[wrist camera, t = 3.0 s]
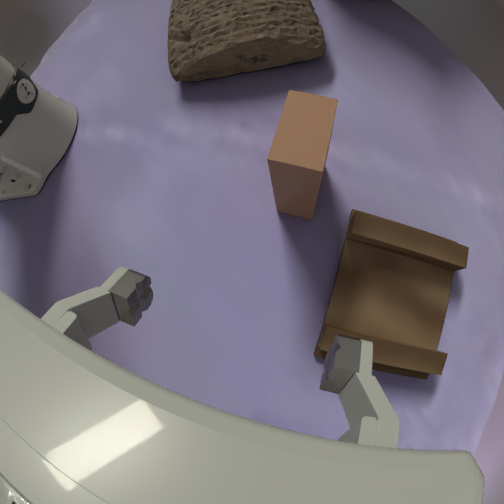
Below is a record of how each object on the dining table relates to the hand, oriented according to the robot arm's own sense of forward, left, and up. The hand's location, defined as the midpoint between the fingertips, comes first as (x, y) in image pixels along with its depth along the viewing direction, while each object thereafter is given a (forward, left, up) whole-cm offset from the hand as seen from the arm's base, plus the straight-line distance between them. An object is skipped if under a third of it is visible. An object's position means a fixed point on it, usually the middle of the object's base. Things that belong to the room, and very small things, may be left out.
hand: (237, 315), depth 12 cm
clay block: (+5, +11, -16) cm, 20 cm away
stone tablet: (+2, +42, -16) cm, 45 cm away
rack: (+12, -1, -16) cm, 20 cm away
